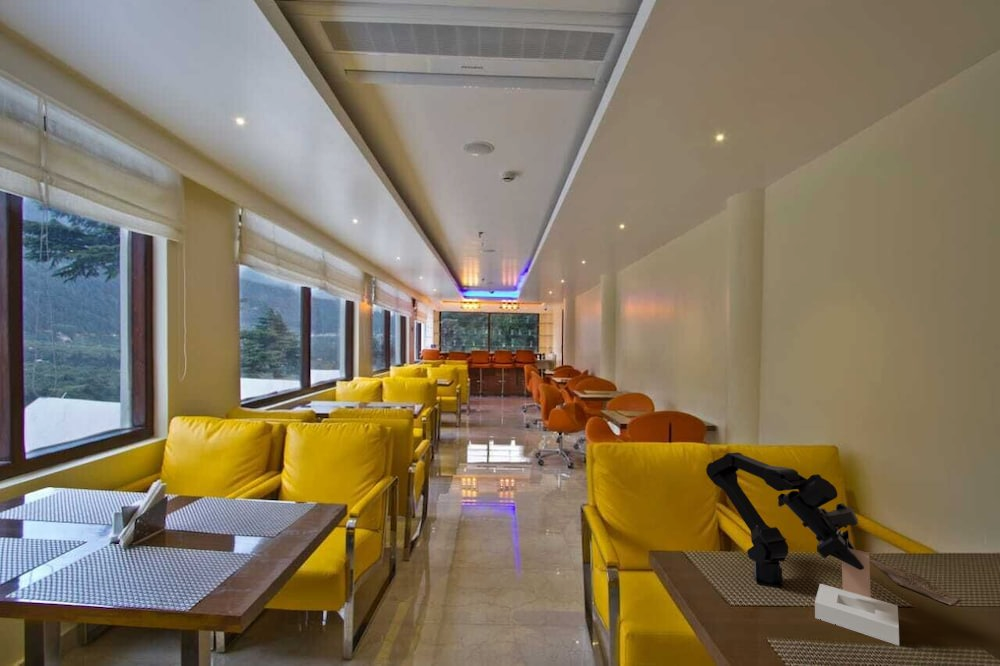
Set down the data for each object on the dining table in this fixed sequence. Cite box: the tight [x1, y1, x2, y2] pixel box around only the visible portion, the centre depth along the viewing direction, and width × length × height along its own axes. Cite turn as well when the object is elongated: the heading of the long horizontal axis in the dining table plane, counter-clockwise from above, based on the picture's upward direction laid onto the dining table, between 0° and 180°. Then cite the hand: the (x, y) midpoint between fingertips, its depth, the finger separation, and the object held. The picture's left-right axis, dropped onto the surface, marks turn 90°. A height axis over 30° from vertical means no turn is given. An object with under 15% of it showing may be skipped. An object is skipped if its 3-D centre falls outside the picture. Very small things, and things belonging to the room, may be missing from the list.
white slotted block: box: [814, 583, 900, 646], centre depth 112 cm, size 16×12×4 cm
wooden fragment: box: [869, 559, 960, 607], centre depth 130 cm, size 26×11×1 cm, turn 177°
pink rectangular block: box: [841, 548, 872, 598], centre depth 112 cm, size 6×3×10 cm, turn 50°
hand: (862, 566), depth 112 cm, fingers closed on pink rectangular block, 3 cm apart
